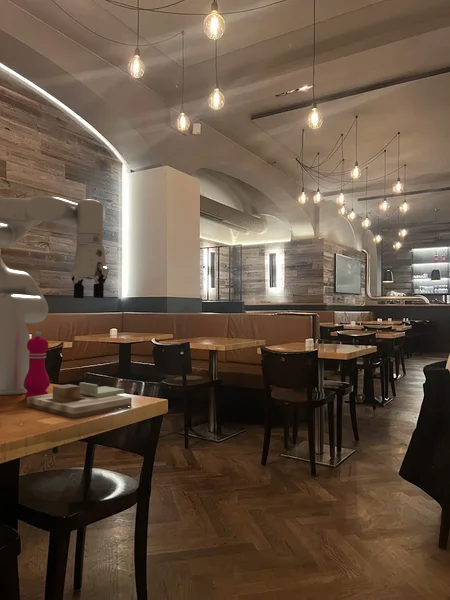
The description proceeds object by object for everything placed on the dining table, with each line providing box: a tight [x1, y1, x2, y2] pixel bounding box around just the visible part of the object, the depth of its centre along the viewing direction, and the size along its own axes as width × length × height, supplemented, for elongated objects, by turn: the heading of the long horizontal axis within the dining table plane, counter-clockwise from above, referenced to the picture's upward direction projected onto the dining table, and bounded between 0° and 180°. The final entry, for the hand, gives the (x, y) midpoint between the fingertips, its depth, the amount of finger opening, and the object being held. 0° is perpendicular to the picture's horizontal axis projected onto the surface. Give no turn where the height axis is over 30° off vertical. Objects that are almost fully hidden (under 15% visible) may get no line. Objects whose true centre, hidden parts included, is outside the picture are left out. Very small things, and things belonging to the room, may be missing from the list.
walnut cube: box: [52, 383, 80, 403], centre depth 122 cm, size 5×5×5 cm
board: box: [26, 393, 133, 419], centre depth 125 cm, size 22×18×2 cm
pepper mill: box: [24, 331, 51, 401], centre depth 137 cm, size 7×7×20 cm
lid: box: [78, 382, 125, 398], centre depth 131 cm, size 9×10×3 cm
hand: (88, 297), depth 137 cm, fingers open, 9 cm apart
